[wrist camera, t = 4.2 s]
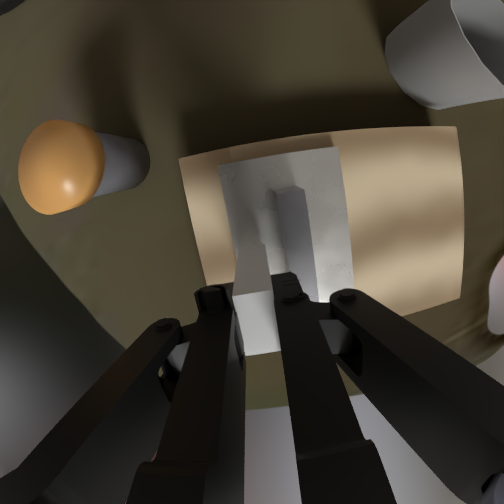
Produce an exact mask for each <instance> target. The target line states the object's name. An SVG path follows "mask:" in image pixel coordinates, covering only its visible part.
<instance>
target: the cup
mask: <svg viewBox="0 0 504 504" xmlns="http://www.w3.org/2000/svg"><path fill="white" fill-rule="evenodd" d="M384 55H385V57H386V61H387V64H388V67H389V70H390V73H391V75H392V76H393V78H394V79H395V80H396V82H397V83H398V85H399V86H400V87H401V89H402V90H403V92H404V93H405V94H407V95H408V96H409V97H411V98H412V99H413V100H415V101H416V102H417V103H419V104H420V105H421V106H425V107H429V108H433V109H437V110H440V109H444V108H449V107H454V106H459V105H464V104H469V103H475V102H480V101H486V100H492V99H499V98H504V4H503V3H502V2H501V1H500V0H429V1H427V2H426V3H425V4H424V5H422V6H421V7H420V8H419V9H417V10H416V11H415V12H414V13H412V14H411V15H410V16H409V17H407V18H406V19H405V20H404V21H403V22H401V23H400V24H399V25H398V26H397V27H396V28H395V29H394V30H393V31H392V32H391V33H390V34H389V35H388V36H387V37H386V45H385V53H384Z"/></svg>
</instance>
